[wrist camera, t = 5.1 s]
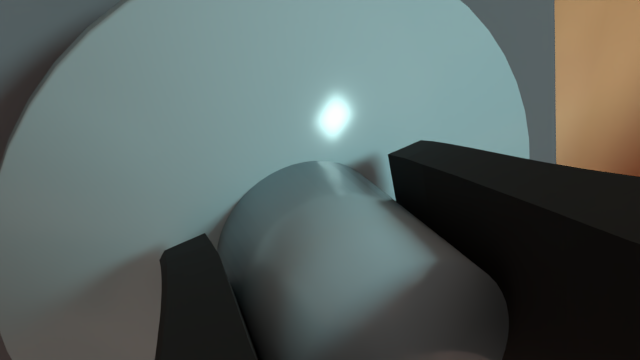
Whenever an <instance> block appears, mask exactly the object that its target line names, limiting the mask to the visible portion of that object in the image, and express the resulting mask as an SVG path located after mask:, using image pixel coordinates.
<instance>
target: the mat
mask: <svg viewBox="0 0 640 360" xmlns="http://www.w3.org/2000/svg"><path fill="white" fill-rule="evenodd" d="M120 1H121V0H0V164H1V161H2V158H3V154H4V151H5V148H6V145H7V142H8V139H9V137H10V135H11V133H12V131H13V129H14V127H15V125H16V123H17V121H18V119H19V117H20V115H21V113H22V111H23V109H24V107H25V105H26V103H27V101H28V99H29V97H30V96H31V94H32V93H33V92H34V90H35V89H36V87H37V86H38V85H39V83H40V82H41V80H42V79H43V77H44V76H45V75H46V73H47V72H48V70H49V69H50V68H51V66H52V65H53V63H54V62H55V61H56V60H57V59H58V57H59V56H60V55H61V54H62V53H63V52H64V51H65V50H66V49H67V48H68V47H69V46H70V45H71V44H72V43H73V42H74V41H75V39H76V38H77V37H78V36H79V35H80V34H81V33H82V32H83V31H84V30H85V29H86V28H87V27H88V26H89V25H91V24H92V23H93V22H94V21H96V20H97V19H98V18H99V17H101V16H102V15H103V14H104V13H106V12H107V11H108V10H110V9H111V8H112V7H113V6H115V5H116V4H117V3H118V2H120ZM460 1H462V2H463V3H464V4H465V5H466V6H468V7H469V8H470V10H471V11H472V12H473V13H474V14H475V15H476V16H477V18H478V19H479V20H480V21H481V22H482V23H483V24H484V25H485V27H486V28H487V29H488V30H489V32H490V33H491V35H492V36H493V38H494V39H495V41H496V42H497V44H498V46H499V47H500V49H501V50H502V52H503V53H504V55H505V57H506V59H507V61H508V64H509V66H510V68H511V70H512V73H513V75H514V77H515V79H516V82H517V85H518V88H519V92H520V95H521V99H522V102H523V106H524V109H525V115H526V122H527V128H528V135H529V159H531V160H536V161H541V162H546V163H552V164H556V116H555V20H554V0H460ZM0 360H12V359H11V357H10V355H9V354H8V352H7V350H6V347H5V344H4V342H3V339H2V336H1V334H0Z"/></svg>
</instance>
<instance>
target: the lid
mask: <svg viewBox="0 0 640 360" xmlns="http://www.w3.org/2000/svg"><path fill="white" fill-rule="evenodd" d="M420 140H426V141H435V142H442V143H448V144H454V145H459V146H464V147H470V148H475V149H480V150H485V151H490V152H495V153H500V154H505V155H510V156H515V157H520V158H525V159H529V135H528V128H527V122H526V115H525V109H524V106H523V102H522V99H521V95H520V92H519V88H518V85H517V82H516V79H515V77H514V75H513V73H512V70H511V68H510V66H509V64H508V61H507V59H506V57H505V55H504V53H503V52H502V50H501V49H500V47H499V46H498V44H497V42H496V41H495V39H494V38H493V36H492V35H491V33H490V32H489V30H488V29H487V28H486V27H485V25H484V24H483V23H482V22H481V21H480V20H479V19H478V18H477V16H476V15H475V14H474V13H473V12H472V11H471V10H470V8H469V7H468V6H466V5H465V4H464V3H463V2H462V1H460V0H121V1H120V2H118V3H117V4H116V5H115V6H113V7H112V8H111V9H110V10H108V11H107V12H106V13H104V14H103V15H102V16H101V17H99V18H98V19H97V20H96V21H94V22H93V23H92V24H91V25H89V26H88V27H87V28H86V29H85V30H84V31H83V32H82V33H81V34H80V35H79V36H78V37H77V38H76V39H75V41H74V42H73V43H72V44H71V45H70V46H69V47H68V48H67V49H66V50H65V51H64V52H63V53H62V54H61V55H60V56H59V57H58V59H57V60H56V61H55V62H54V63H53V65H52V66H51V68H50V69H49V70H48V72H47V73H46V75H45V76H44V77H43V79H42V80H41V82H40V83H39V85H38V86H37V87H36V89H35V90H34V92H33V93H32V94H31V96H30V97H29V99H28V101H27V103H26V105H25V107H24V109H23V111H22V113H21V115H20V117H19V119H18V121H17V123H16V125H15V127H14V129H13V131H12V133H11V135H10V137H9V139H8V142H7V145H6V148H5V151H4V154H3V158H2V161H1V164H0V334H1V336H2V339H3V342H4V344H5V347H6V350H7V352H8V354H9V355H10V357H11V359H12V360H155V354H156V346H157V338H158V329H159V321H160V310H161V290H162V280H161V266H160V261H159V260H160V258H161V256H162V254H163V252H164V250H167V249H169V248H171V247H174V246H176V245H178V244H181V243H183V242H185V241H187V240H190V239H192V238H194V237H197V236H199V235H201V234H204V233H205V234H206V235H207V237H208V238H209V240H210V241H211V242H212V244H213V246H214V247H215V249H216V250H217V252H218V254H219V256H220V258H221V261H222V264H223V266H224V269H225V271H226V274H227V277H228V279H229V282H230V285H231V287H232V290H233V292H234V295H235V298H236V300H237V303H238V306H239V308H240V311H241V313H242V316H243V319H244V321H245V324H246V327H247V329H248V332H249V335H250V337H251V340H252V343H253V345H254V348H255V351H256V353H257V356H258V359H259V360H502V358H503V355H504V352H505V349H506V344H507V339H508V331H509V315H508V309H507V304H506V301H505V298H504V296H503V293H502V291H501V290H500V288H499V286H498V285H497V283H496V282H495V281H494V280H493V279H492V278H491V277H490V276H489V275H488V274H487V273H486V272H484V271H483V270H482V269H480V268H479V267H478V266H477V265H475V264H474V263H473V262H472V261H470V260H469V259H468V258H467V257H465V256H464V255H463V254H462V253H460V252H459V251H458V250H457V249H455V248H454V247H453V246H452V245H450V244H449V243H448V242H447V241H445V240H444V239H443V238H441V237H440V236H439V235H438V234H436V233H435V232H434V231H433V230H431V229H430V228H429V227H428V226H426V225H425V224H424V223H423V222H421V221H420V220H419V219H418V218H416V217H415V216H414V215H413V214H411V213H410V212H409V211H408V210H406V209H405V208H404V207H403V206H401V205H400V204H399V203H397V202H396V198H395V193H394V187H393V181H392V176H391V170H390V165H389V159H388V154H390V153H392V152H394V151H397V150H399V149H401V148H404V147H406V146H408V145H411V144H413V143H415V142H418V141H420Z"/></svg>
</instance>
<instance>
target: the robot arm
mask: <svg viewBox="0 0 640 360" xmlns="http://www.w3.org/2000/svg"><path fill="white" fill-rule="evenodd" d="M388 159H389V165H390V170H391V176H392V181H393V187H394V193H395V198H396V202H397V203H399V204H400V205H401V206H403V207H404V208H405V209H406V210H408V211H409V212H410V213H411V214H413V215H414V216H415V217H416V218H418V219H419V220H420V221H421V222H423V223H424V224H425V225H426V226H428V227H429V228H430V229H431V230H433V231H434V232H435V233H436V234H438V235H439V236H440V237H441V238H443V239H444V240H445V241H447V242H448V243H449V244H450V245H452V246H453V247H454V248H455V249H457V250H458V251H459V252H460V253H462V254H463V255H464V256H465V257H467V258H468V259H469V260H470V261H472V262H473V263H474V264H475V265H477V266H478V267H479V268H480V269H482V270H483V271H484V272H486V273H487V274H488V275H489V276H490V277H491V278H492V279H493V280H494V281H495V282H496V283H497V285H498V286H499V288H500V290H501V291H502V293H503V296H504V298H505V301H506V304H507V309H508V315H509V331H508V339H507V344H506V349H505V352H504V355H503V358H502V360H640V177H637V176H629V175H622V174H615V173H608V172H601V171H594V170H587V169H581V168H575V167H569V166H563V165H558V164H552V163H546V162H541V161H536V160H531V159H525V158H520V157H515V156H510V155H505V154H500V153H495V152H490V151H485V150H480V149H475V148H470V147H464V146H459V145H454V144H448V143H442V142H435V141H426V140H420V141H418V142H415V143H413V144H411V145H408V146H406V147H404V148H401V149H399V150H397V151H394V152H392V153H390V154H388ZM159 261H160V266H161V280H162V290H161V310H160V321H159V329H158V338H157V346H156V354H155V360H259V359H258V356H257V353H256V351H255V348H254V345H253V343H252V340H251V337H250V335H249V332H248V329H247V327H246V324H245V321H244V319H243V316H242V313H241V311H240V308H239V306H238V303H237V300H236V298H235V295H234V292H233V290H232V287H231V285H230V282H229V279H228V277H227V274H226V271H225V269H224V266H223V264H222V261H221V258H220V256H219V254H218V252H217V250H216V249H215V247H214V246H213V244H212V242H211V241H210V240H209V238H208V237H207V235H206V234H205V233H204V234H201V235H199V236H197V237H194V238H192V239H190V240H187V241H185V242H183V243H181V244H178V245H176V246H174V247H171V248H169V249H167V250H164V252H163V254H162V256H161V258H160V260H159Z"/></svg>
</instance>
